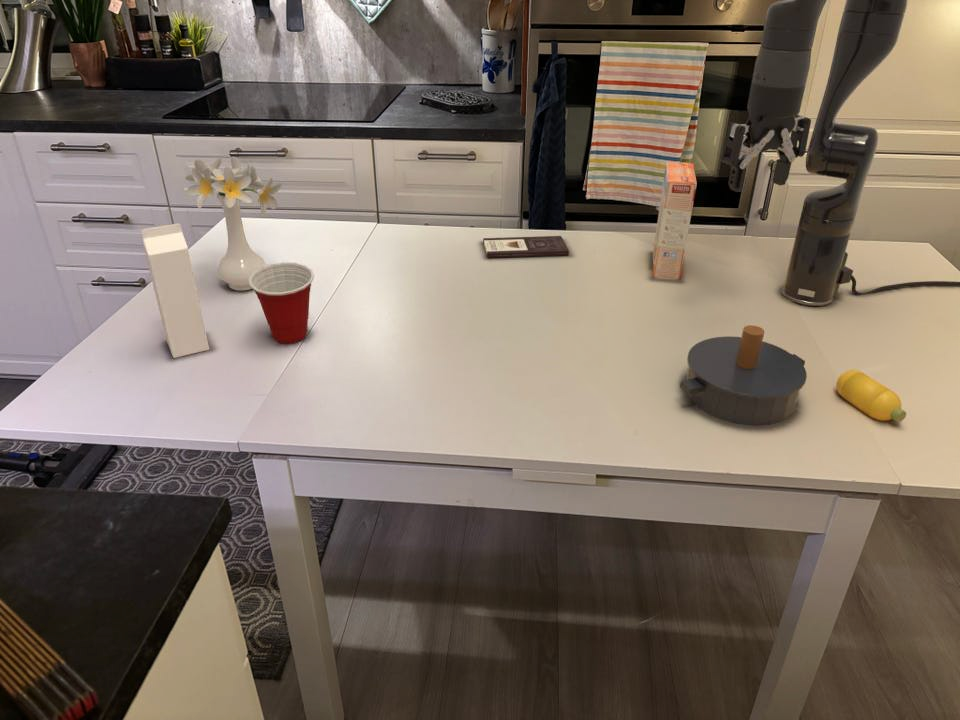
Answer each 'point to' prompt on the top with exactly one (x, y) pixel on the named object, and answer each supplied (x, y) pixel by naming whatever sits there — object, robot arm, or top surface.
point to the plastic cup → (284, 299)
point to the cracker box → (673, 219)
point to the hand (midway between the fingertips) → (757, 187)
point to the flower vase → (233, 213)
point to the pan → (738, 403)
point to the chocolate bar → (525, 246)
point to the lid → (747, 366)
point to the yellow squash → (870, 396)
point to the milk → (175, 289)
